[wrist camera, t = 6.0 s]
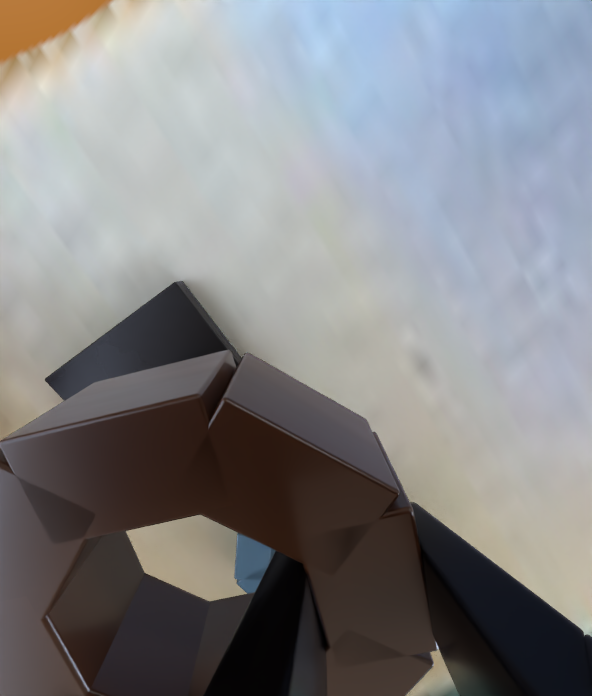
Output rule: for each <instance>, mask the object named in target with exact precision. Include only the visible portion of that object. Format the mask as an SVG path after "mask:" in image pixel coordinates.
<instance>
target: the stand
mask: <svg viewBox="0 0 592 696" xmlns="http://www.w3.org/2000/svg"><path fill="white" fill-rule="evenodd" d="M225 350H230V351H231V352H232V355H233V358H234V362H235V365H236V368H237V366H238V364H239V362H240V361H241V359H242V358H241V357H240V355H239V354H238V353H237V351H236V350H235V349H234V347H233V346H232V345H231V344H230V342H229V341H228V340H227V338H226V337H225V336H224V334H223V333H222V332H221V331H220V329H219V328H218V327H217V325H216V324H215V323H214V321H213V320H212V319H211V318H210V316H209V315H208V314H207V312H206V311H205V310H204V308H203V307H202V306H201V305H200V303H199V302H198V301H197V299H196V298H195V297H194V295H193V294H192V293H191V292H190V290H189V289H188V288H187V286H186V285H185V284H184V282H183V281H178V282H174V283H173V284H171V285H170V286H169V287H167V288H166V289H165V290H163V291H162V292H161V293H159V294H158V295H157V296H155V297H154V298H153V299H151V300H150V301H149V302H147V303H146V304H144V305H143V306H142V307H140V308H139V309H138V310H136V311H135V312H134V313H132V314H131V315H130V316H128V317H127V318H126V319H124V320H123V321H122V322H120V323H119V324H118V325H116V326H115V327H114V328H112V329H111V330H110V331H108V332H107V333H106V334H104V335H103V336H102V337H100V338H99V339H98V340H96V341H95V342H94V343H92V344H91V345H90V346H88V347H87V348H86V349H84V350H83V351H81V352H80V353H79V354H77V355H76V356H75V357H73V358H72V359H71V360H69V361H68V362H67V363H65V364H64V365H63V366H61V367H60V368H59V369H57V370H56V371H55V372H53V373H52V374H51V375H49V376H48V377H47V378H45V381H46V382H47V383H48V384H49V385H50V386H51V387H52V388H53V389H54V390H55V391H56V392H57V393H58V395H59V396H60V397H61V398H62V399H63V400H64V401H65V400H67V399H68V398H70V397H72V396H73V395H75V394H77V393H78V392H80V391H81V390H83V389H85V388H86V387H88V386H89V385H91V384H93V383H94V382H98V381H102V380H106V379H110V378H114V377H118V376H123V375H127V374H131V373H135V372H139V371H143V370H147V369H151V368H155V367H159V366H163V365H167V364H172V363H176V362H180V361H184V360H188V359H192V358H196V357H200V356H204V355H208V354H212V353H216V352H221V351H225Z"/></svg>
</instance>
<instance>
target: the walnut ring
mask: <svg viewBox="0 0 592 696" xmlns="http://www.w3.org/2000/svg"><path fill="white" fill-rule="evenodd" d="M200 514H201V515H203V516H205V517H207V518H209V519H211V520H213V521H215V522H217V523H219V524H221V525H224V526H226V527H228V528H230V529H232V530H234V531H236V532H238V533H240V534H242V535H244V536H246V537H249V538H251V539H253V540H255V541H257V542H259V543H261V544H263V545H265V546H267V547H269V548H271V549H274V550H276V551H278V552H280V553H282V554H284V555H286V556H288V557H290V558H292V559H294V560H296V561H298V562H301V563H302V564H303V567H304V570H305V572H306V574H307V576H308V580H309V584H310V588H311V591H312V595H313V598H314V602H315V606H316V609H317V613H318V616H319V620H320V623H321V627H322V630H323V633H324V637H325V647H326V661H327V696H405V695H406V694H407V693H408V692H409V691H410V690H411V689H412V688H413V687H414V686H415V685H416V684H417V683H418V682H419V681H420V680H421V679H422V678H423V677H424V675H425V674H426V673H427V672H428V671H429V670H430V669H431V668H432V667H433V665H434V662H433V659H432V656H431V653H430V652H432V651H436V650H438V646H437V643H436V641H435V639H434V636H433V632H432V625H431V618H430V612H429V605H428V598H427V591H426V584H425V577H424V570H423V564H422V557H421V548H420V543H419V538H418V532H417V527H416V522H415V516H414V511H413V508H412V506H411V504H410V502H409V499H408V497H407V495H406V493H405V491H404V489H403V487H402V485H401V483H400V481H399V479H398V477H397V475H396V473H395V471H394V468H393V466H392V464H391V462H390V460H389V458H388V456H387V454H386V452H385V450H384V448H383V446H382V444H381V442H380V439H379V437H378V435H377V434H376V432H372V430H371V428H370V426H369V424H368V422H367V420H366V419H365V418H363V417H361V416H360V415H358V414H356V413H354V412H353V411H351V410H349V409H347V408H345V407H344V406H342V405H340V404H338V403H337V402H335V401H333V400H331V399H330V398H328V397H326V396H324V395H322V394H321V393H319V392H317V391H315V390H314V389H312V388H310V387H308V386H307V385H305V384H303V383H301V382H300V381H298V380H296V379H294V378H292V377H291V376H289V375H287V374H285V373H284V372H282V371H280V370H278V369H277V368H275V367H273V366H271V365H269V364H268V363H266V362H264V361H262V360H261V359H259V358H257V357H255V356H254V355H252V354H250V353H245V354H244V356H243V357H242V359H241V361H240V362H239V364H238V366H237V368H236V365H235V362H234V358H233V355H232V352H231V351H230V350H225V351H221V352H216V353H212V354H208V355H204V356H200V357H196V358H192V359H188V360H184V361H180V362H176V363H172V364H167V365H163V366H159V367H155V368H151V369H147V370H143V371H139V372H135V373H131V374H127V375H123V376H118V377H114V378H110V379H106V380H102V381H98V382H94V383H93V384H91V385H89V386H88V387H86V388H85V389H83V390H81V391H80V392H78V393H77V394H75V395H73V396H72V397H70V398H68V399H67V400H65V401H64V402H62V403H60V404H59V405H57V406H56V407H54V408H52V409H51V410H49V411H47V412H46V413H44V414H43V415H41V416H39V417H38V418H36V419H35V420H33V421H31V422H30V423H28V424H26V425H25V426H23V427H22V428H20V429H18V430H17V431H15V432H14V433H12V434H10V435H9V436H7V437H5V438H4V439H2V440H1V441H0V696H203V695H204V693H205V691H206V689H207V687H208V685H209V683H210V681H211V679H212V677H213V675H214V673H215V671H216V669H217V667H218V665H219V663H220V661H221V659H222V657H223V655H224V653H225V651H226V649H227V647H228V645H229V643H230V641H231V639H232V637H233V635H234V633H235V631H236V629H237V627H238V625H239V623H240V621H241V619H242V617H243V615H244V613H245V611H246V609H247V607H248V605H249V603H250V601H251V599H252V597H253V595H254V593H255V592H254V593H249V594H244V595H239V596H235V597H230V598H225V599H220V600H215V601H210V602H209V601H207V600H205V599H202V598H200V597H198V596H195V595H193V594H191V593H189V592H186V591H184V590H182V589H180V588H177V587H175V586H173V585H171V584H168V583H166V582H164V581H162V580H159V579H157V578H155V577H153V576H150V575H148V574H146V573H144V571H143V568H142V566H141V564H140V562H139V560H138V557H137V555H136V553H135V551H134V549H133V546H132V544H131V542H130V540H129V537H128V535H127V533H126V531H127V530H132V529H136V528H141V527H145V526H150V525H154V524H159V523H163V522H168V521H172V520H177V519H182V518H186V517H191V516H195V515H200Z"/></svg>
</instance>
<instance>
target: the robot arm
mask: <svg viewBox="0 0 592 696" xmlns="http://www.w3.org/2000/svg"><path fill="white" fill-rule="evenodd" d="M410 504H411V506H412V508H413V511H414V516H415V522H416V527H417V532H418V538H419V543H420V548H421V557H422V564H423V570H424V577H425V584H426V591H427V598H428V605H429V612H430V618H431V625H432V632H433V636H434V639H435V641H436V643H437V646H438V648H439V650H440V653H441V655H442V657H443V659H444V662H445V664H446V666H447V668H448V671H449V673H450V675H451V677H452V680H453V682H454V684H455V686H456V689H457V691H458V693H459V695H460V696H592V637H591V636H590V635H585V636H584V633H583V631H582V630H581V629H580V628H579V627H578V626H576V625H575V624H574V623H572V622H571V621H570V620H568V619H567V618H566V617H564V616H563V615H562V614H561V613H559V612H558V611H557V610H555V609H554V608H553V607H551V606H550V605H549V604H547V603H546V602H545V601H543V600H542V599H541V598H540V597H538V596H537V595H536V594H534V593H533V592H532V591H530V590H529V589H528V588H526V587H525V586H524V585H523V584H521V583H520V582H519V581H517V580H516V579H515V578H513V577H512V576H511V575H509V574H508V573H507V572H505V571H504V570H503V569H502V568H500V567H499V566H498V565H496V564H495V563H494V562H492V561H491V560H490V559H488V558H487V557H486V556H485V555H483V554H482V553H481V552H479V551H478V550H477V549H475V548H474V547H473V546H471V545H470V544H469V543H467V542H466V541H465V540H464V539H462V538H461V537H460V536H458V535H457V534H456V533H454V532H453V531H452V530H450V529H449V528H448V527H447V526H445V525H444V524H443V523H441V522H440V521H439V520H437V519H436V518H435V517H433V516H432V515H431V514H429V513H428V512H427V511H426V510H424V509H423V508H422V507H420V506H419V505H418V504H416V503H414V502H411V503H410ZM203 696H327V661H326V647H325V637H324V633H323V630H322V627H321V623H320V620H319V616H318V613H317V609H316V606H315V602H314V598H313V595H312V591H311V588H310V584H309V580H308V576H307V574H306V572H305V570H304V567H303V564H302V563H301V562H298V561H296V560H294V559H292V558H290V557H288V556H286V555H284V554H282V553H280V552H278V551H275V553H274V555H273V557H272V559H271V561H270V563H269V565H268V567H267V569H266V571H265V573H264V575H263V577H262V579H261V581H260V583H259V585H258V587H257V589H256V591H255V593H254V595H253V597H252V599H251V601H250V603H249V605H248V607H247V609H246V611H245V613H244V615H243V617H242V619H241V621H240V623H239V625H238V627H237V629H236V631H235V633H234V635H233V637H232V639H231V641H230V643H229V645H228V647H227V649H226V651H225V653H224V655H223V657H222V659H221V661H220V663H219V665H218V667H217V669H216V671H215V673H214V675H213V677H212V679H211V681H210V683H209V685H208V687H207V689H206V691H205V693H204V695H203Z"/></svg>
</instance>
